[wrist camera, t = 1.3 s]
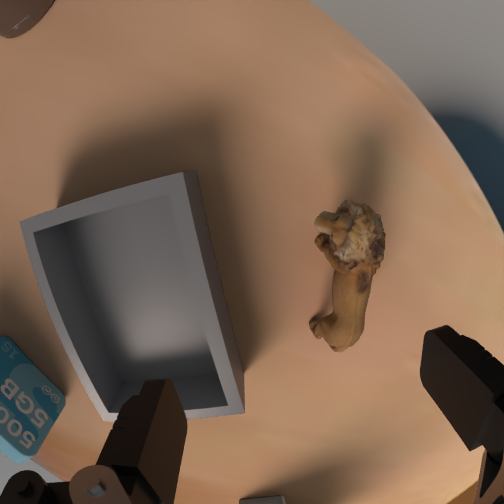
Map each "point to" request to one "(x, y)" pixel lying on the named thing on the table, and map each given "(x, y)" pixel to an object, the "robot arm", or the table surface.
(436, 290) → the table surface
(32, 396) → the data package
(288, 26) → the table surface
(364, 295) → the lion figurine
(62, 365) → the table surface
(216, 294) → the bin
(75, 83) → the table surface
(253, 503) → the hard drive box
